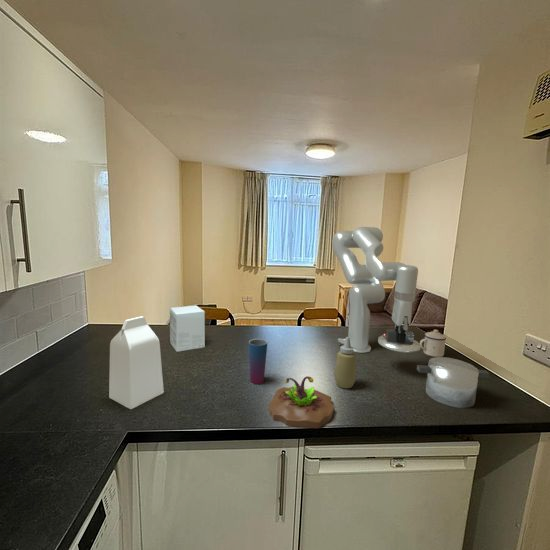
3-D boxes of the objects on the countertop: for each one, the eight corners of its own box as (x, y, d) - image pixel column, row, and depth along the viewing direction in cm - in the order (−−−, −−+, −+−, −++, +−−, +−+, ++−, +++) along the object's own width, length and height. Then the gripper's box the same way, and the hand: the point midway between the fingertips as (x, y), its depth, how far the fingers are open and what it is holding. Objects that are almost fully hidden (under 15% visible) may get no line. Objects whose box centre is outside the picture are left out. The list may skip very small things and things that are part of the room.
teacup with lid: (435, 349, 152) (438, 326, 150) (448, 357, 143) (451, 333, 142) (413, 350, 150) (415, 327, 149) (425, 358, 141) (427, 333, 140)
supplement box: (196, 338, 156) (196, 304, 154) (205, 347, 145) (205, 311, 143) (169, 342, 149) (169, 307, 147) (176, 352, 138) (175, 314, 136)
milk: (130, 409, 94) (128, 326, 90) (109, 397, 100) (105, 319, 96) (163, 392, 104) (162, 317, 100) (142, 383, 110) (140, 311, 106)
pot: (423, 404, 102) (426, 372, 101) (409, 382, 117) (411, 354, 115) (496, 411, 100) (501, 378, 98) (472, 388, 114) (476, 359, 113)
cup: (268, 378, 116) (270, 340, 114) (262, 386, 110) (263, 346, 108) (252, 375, 118) (253, 337, 116) (244, 383, 112) (245, 343, 110)
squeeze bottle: (343, 392, 108) (346, 343, 106) (328, 382, 115) (331, 335, 113) (360, 387, 112) (364, 339, 109) (345, 378, 119) (348, 333, 116)
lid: (382, 350, 119) (384, 336, 118) (374, 335, 134) (375, 323, 134) (426, 354, 117) (428, 340, 116) (412, 339, 133) (414, 326, 132)
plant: (328, 436, 85) (331, 398, 83) (261, 421, 91) (263, 385, 89) (336, 399, 104) (338, 367, 102) (280, 389, 110) (281, 359, 108)
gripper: (389, 291, 131) (385, 332, 134) (400, 300, 115) (394, 347, 118) (408, 292, 130) (403, 334, 133) (421, 302, 114) (415, 349, 117)
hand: (399, 340), depth 125 cm, fingers closed on lid, 3 cm apart
